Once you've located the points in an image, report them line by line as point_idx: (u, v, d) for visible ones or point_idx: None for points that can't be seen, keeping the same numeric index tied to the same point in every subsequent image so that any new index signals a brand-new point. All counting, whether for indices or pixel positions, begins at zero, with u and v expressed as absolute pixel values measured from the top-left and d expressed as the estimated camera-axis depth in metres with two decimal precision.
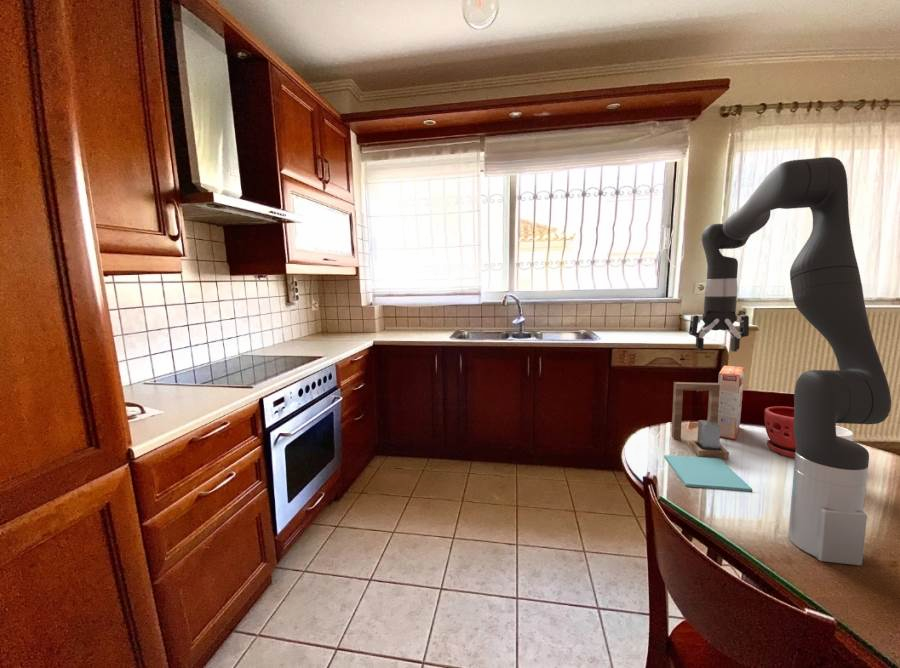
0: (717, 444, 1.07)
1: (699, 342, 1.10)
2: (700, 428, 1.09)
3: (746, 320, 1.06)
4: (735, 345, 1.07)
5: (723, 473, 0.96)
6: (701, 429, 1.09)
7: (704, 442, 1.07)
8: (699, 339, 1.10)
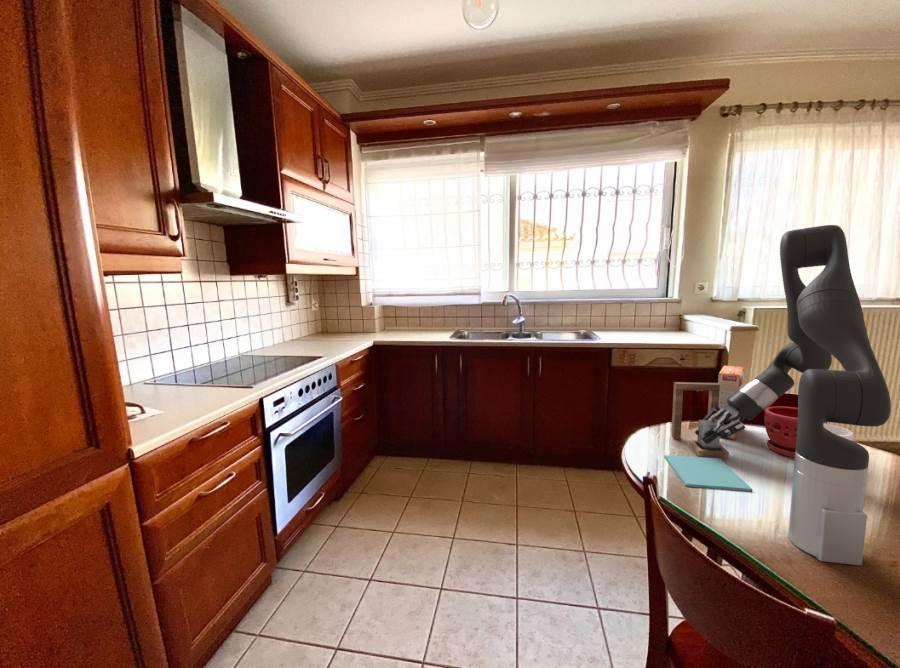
0: (717, 444, 1.07)
1: None
2: (700, 428, 1.09)
3: (733, 422, 1.01)
4: (706, 434, 1.07)
5: (723, 473, 0.96)
6: (701, 429, 1.09)
7: (704, 442, 1.07)
8: None
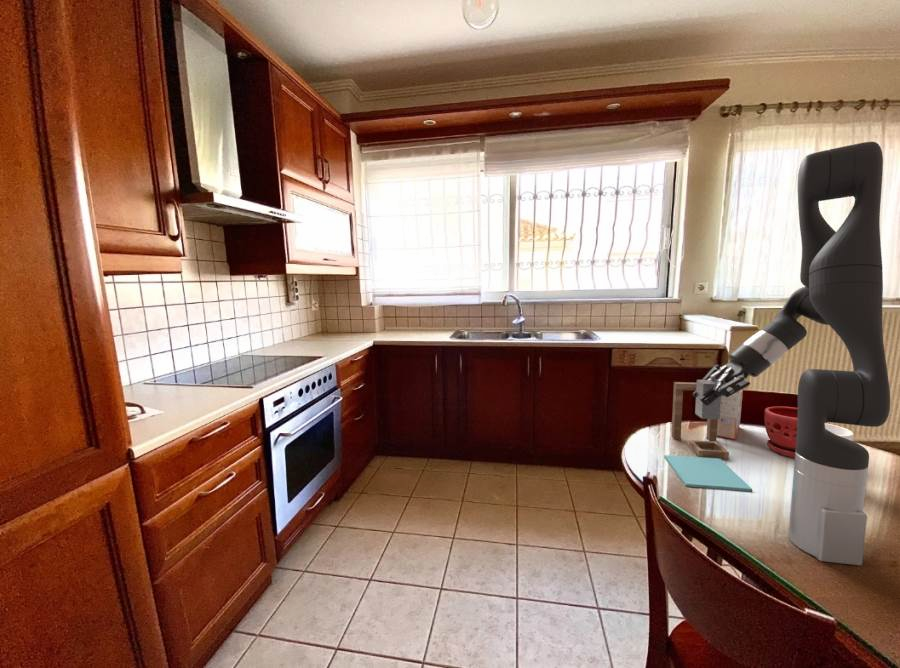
0: (718, 405, 0.93)
1: None
2: (698, 389, 0.96)
3: (736, 379, 0.88)
4: (705, 394, 0.94)
5: (723, 473, 0.96)
6: (699, 390, 0.96)
7: (703, 404, 0.94)
8: None
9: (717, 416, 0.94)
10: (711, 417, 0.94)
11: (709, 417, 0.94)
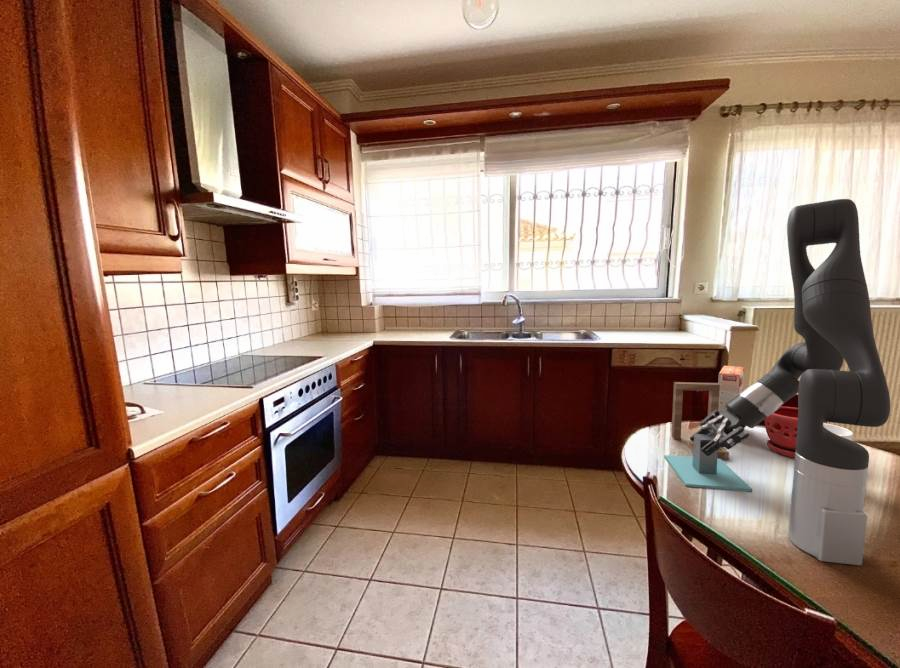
0: (715, 461, 0.95)
1: None
2: (696, 443, 0.98)
3: (736, 430, 0.89)
4: (706, 445, 0.94)
5: (723, 473, 0.96)
6: (696, 444, 0.98)
7: (700, 459, 0.96)
8: None
9: (714, 471, 0.96)
10: (708, 472, 0.96)
11: (706, 472, 0.96)
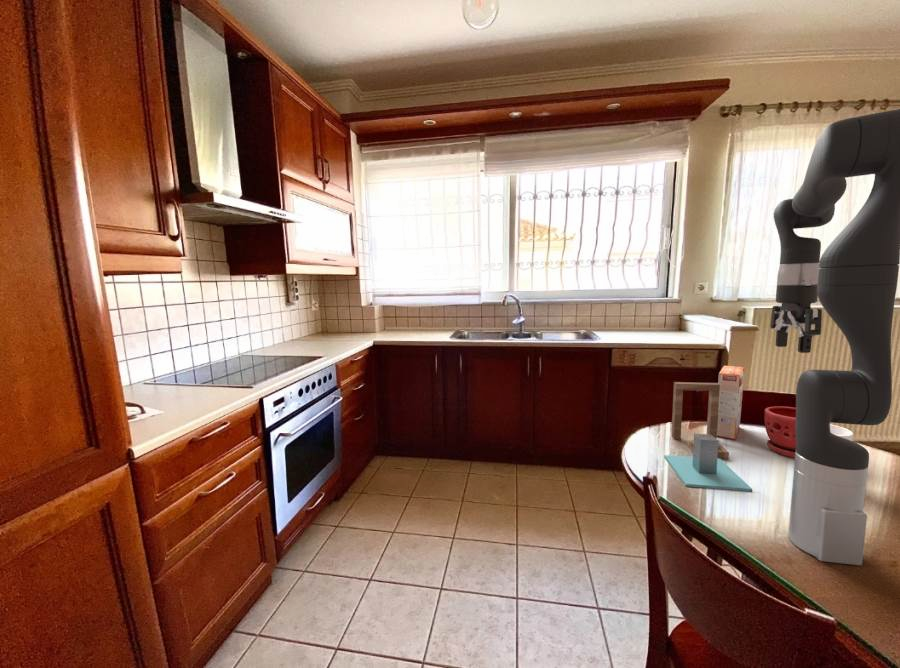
0: (715, 461, 0.95)
1: None
2: (696, 443, 0.98)
3: (807, 315, 0.86)
4: (798, 344, 0.89)
5: (723, 473, 0.96)
6: (696, 444, 0.98)
7: (700, 459, 0.96)
8: None
9: (714, 471, 0.96)
10: (708, 472, 0.96)
11: (706, 472, 0.96)
